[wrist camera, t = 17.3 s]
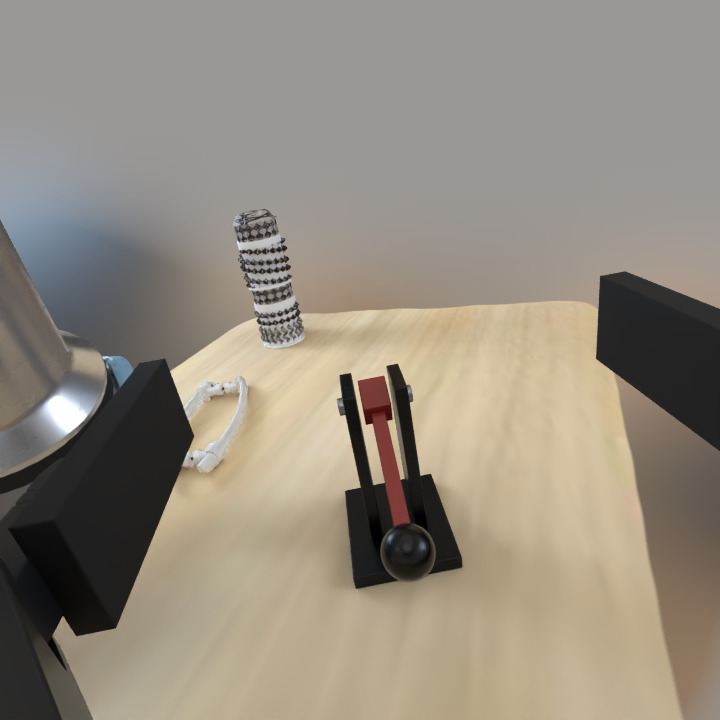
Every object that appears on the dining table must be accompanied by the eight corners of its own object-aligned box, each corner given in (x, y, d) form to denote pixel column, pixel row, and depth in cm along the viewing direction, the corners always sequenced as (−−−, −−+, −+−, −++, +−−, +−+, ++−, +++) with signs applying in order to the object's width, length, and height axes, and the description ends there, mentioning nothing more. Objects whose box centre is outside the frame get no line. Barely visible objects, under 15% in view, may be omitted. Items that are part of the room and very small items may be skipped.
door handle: (147, 492, 56) (200, 392, 79) (229, 478, 56) (258, 382, 79) (139, 474, 55) (195, 378, 78) (222, 459, 55) (254, 367, 78)
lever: (441, 581, 31) (442, 568, 29) (387, 592, 31) (384, 580, 29) (394, 394, 41) (392, 369, 38) (353, 402, 41) (348, 378, 38)
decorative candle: (315, 337, 93) (286, 206, 83) (273, 353, 89) (237, 218, 79) (294, 327, 101) (265, 206, 90) (255, 342, 96) (219, 217, 86)
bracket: (462, 567, 39) (444, 403, 33) (355, 588, 39) (316, 428, 33) (432, 482, 49) (413, 344, 43) (347, 499, 49) (315, 363, 43)
